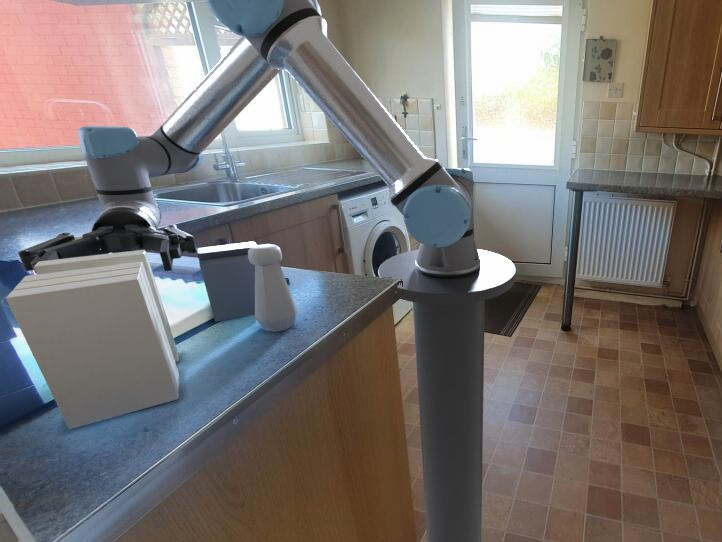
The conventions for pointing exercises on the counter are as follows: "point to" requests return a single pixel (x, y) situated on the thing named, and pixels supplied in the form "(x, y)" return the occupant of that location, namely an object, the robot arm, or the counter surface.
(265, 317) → the salt shaker
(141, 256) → the white book
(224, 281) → the grey upright block
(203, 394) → the counter surface
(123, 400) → the white books
